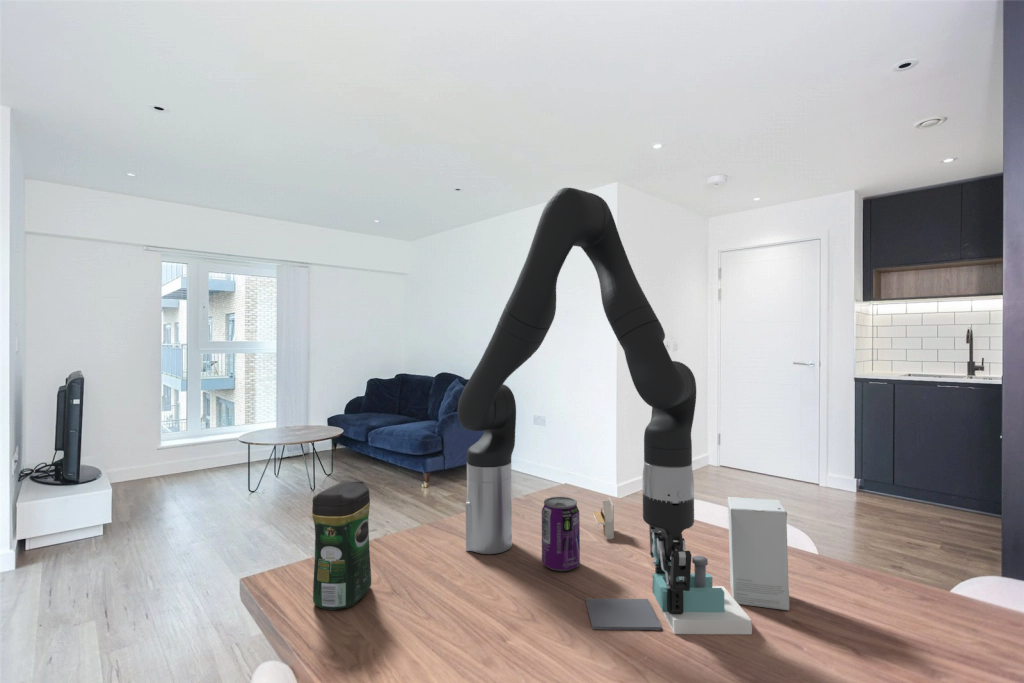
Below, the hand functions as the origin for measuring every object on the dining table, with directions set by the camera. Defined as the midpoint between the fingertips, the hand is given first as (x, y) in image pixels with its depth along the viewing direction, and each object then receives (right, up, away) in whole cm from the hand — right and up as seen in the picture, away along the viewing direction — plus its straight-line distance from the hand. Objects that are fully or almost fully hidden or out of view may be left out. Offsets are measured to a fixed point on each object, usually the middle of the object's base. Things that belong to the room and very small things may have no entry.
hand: (668, 601), depth 76 cm
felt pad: (-7, -2, 0) cm, 7 cm away
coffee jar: (-52, -3, +6) cm, 52 cm away
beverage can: (-15, -3, +17) cm, 23 cm away
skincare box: (+16, -2, +5) cm, 17 cm away
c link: (+3, 0, 0) cm, 3 cm away
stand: (+5, -2, 0) cm, 5 cm away
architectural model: (-3, -3, +33) cm, 33 cm away
